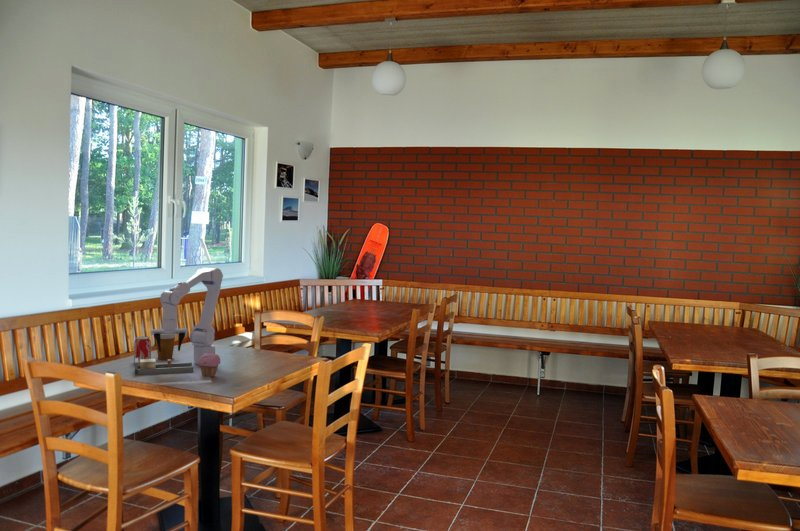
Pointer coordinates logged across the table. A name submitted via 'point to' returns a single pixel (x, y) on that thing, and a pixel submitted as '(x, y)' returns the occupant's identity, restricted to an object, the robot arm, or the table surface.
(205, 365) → the cupcake
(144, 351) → the soda can
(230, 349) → the table surface
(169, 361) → the block
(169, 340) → the disposable coffee cup
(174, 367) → the lane
